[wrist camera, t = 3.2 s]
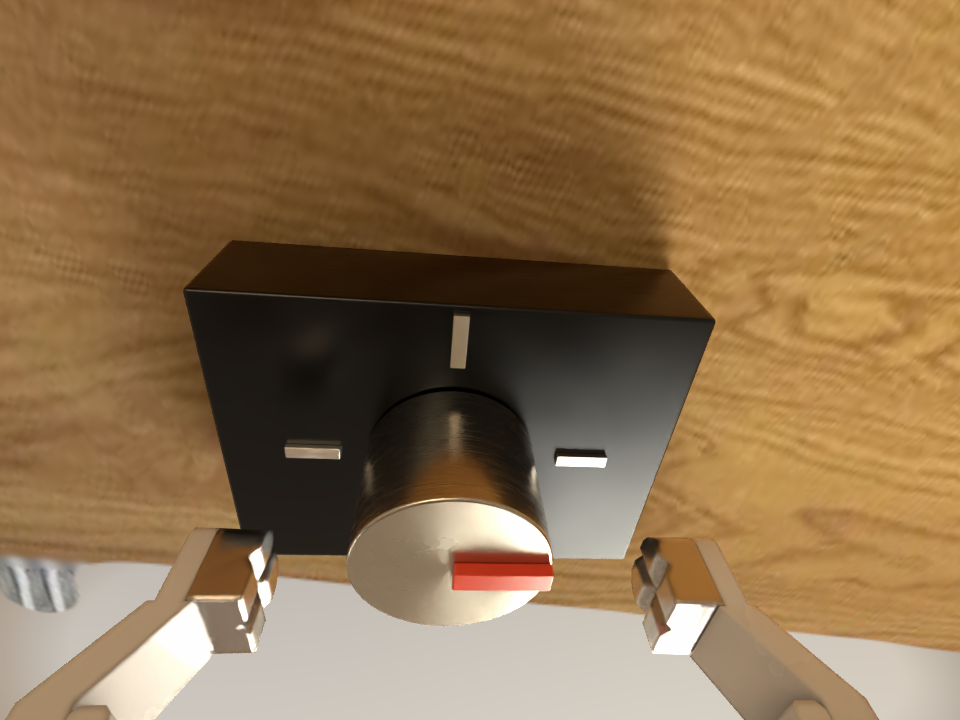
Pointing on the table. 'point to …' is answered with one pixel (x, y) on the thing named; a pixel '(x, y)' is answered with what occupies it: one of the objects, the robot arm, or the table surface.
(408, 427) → the knob
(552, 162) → the table surface
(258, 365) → the panel
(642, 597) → the robot arm
